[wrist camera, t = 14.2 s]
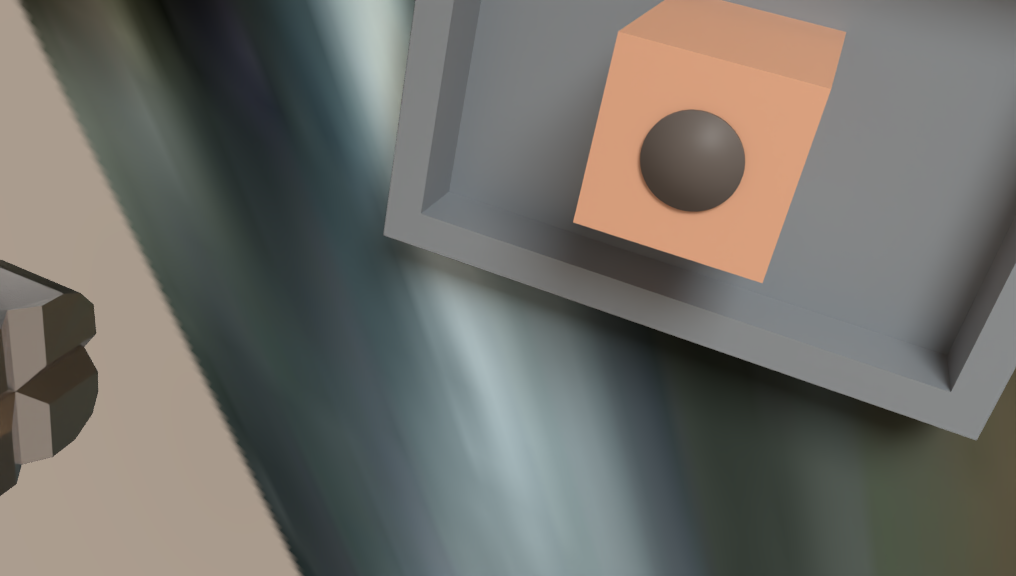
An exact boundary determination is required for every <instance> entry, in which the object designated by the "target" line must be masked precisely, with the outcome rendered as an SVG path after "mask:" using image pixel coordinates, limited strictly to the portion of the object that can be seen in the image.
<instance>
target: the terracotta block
mask: <svg viewBox="0 0 1016 576" xmlns="http://www.w3.org/2000/svg"><path fill="white" fill-rule="evenodd" d="M845 35H846V32H844V31H840V30H836V29H833V28H829V27H825V26H821V25H817V24H813V23H809V22H805V21H801V20H797V19H793V18H789V17H786V16H782V15H778V14H774V13H770V12H766V11H762V10H758V9H754V8H750V7H746V6H742V5H739V4H735V3H731V2H727V1H723V0H664V1H662V2H661V3H659V4H658V5H657V6H655V7H654V8H652V9H651V10H649V11H648V12H646V13H645V14H643V15H642V16H640V17H639V18H637V19H636V20H634V21H633V22H631V23H630V24H628V25H627V26H626V27H624V28H623V29H621V30H620V31H618V34H617V39H616V43H615V47H614V51H613V56H612V60H611V64H610V68H609V72H608V77H607V81H606V85H605V89H604V94H603V98H602V102H601V106H600V111H599V115H598V119H597V123H596V127H595V132H594V136H593V140H592V144H591V149H590V153H589V157H588V161H587V166H586V170H585V174H584V178H583V182H582V187H581V191H580V195H579V199H578V204H577V208H576V212H575V216H574V220H573V223H577V224H580V225H583V226H586V227H589V228H592V229H595V230H598V231H601V232H605V233H608V234H611V235H614V236H617V237H620V238H623V239H626V240H629V241H633V242H636V243H639V244H642V245H645V246H648V247H651V248H654V249H657V250H660V251H664V252H667V253H670V254H673V255H676V256H679V257H682V258H685V259H688V260H692V261H695V262H698V263H701V264H704V265H707V266H710V267H713V268H716V269H720V270H723V271H726V272H729V273H732V274H735V275H738V276H741V277H744V278H748V279H751V280H754V281H757V282H760V283H763V280H764V277H765V275H766V272H767V269H768V266H769V263H770V261H771V258H772V255H773V252H774V249H775V246H776V244H777V241H778V238H779V235H780V232H781V229H782V227H783V224H784V221H785V218H786V215H787V213H788V210H789V207H790V204H791V201H792V198H793V196H794V193H795V190H796V187H797V184H798V181H799V179H800V176H801V173H802V170H803V167H804V165H805V162H806V159H807V156H808V153H809V150H810V148H811V145H812V142H813V139H814V136H815V133H816V131H817V128H818V125H819V122H820V119H821V117H822V114H823V111H824V108H825V105H826V102H827V100H828V97H829V94H830V91H831V88H832V84H833V81H834V77H835V73H836V69H837V65H838V62H839V58H840V54H841V50H842V47H843V43H844V39H845Z"/></svg>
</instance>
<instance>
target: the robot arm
mask: <svg viewBox="0 0 1016 576" xmlns="http://www.w3.org/2000/svg"><path fill="white" fill-rule="evenodd" d="M95 334H96V327H95V316H94V305H93V304H92V303H91V302H90V301H89V300H88V299H87V298H85V297H84V296H83V295H82V294H81V293H79V292H76V291H74V290H72V289H69V288H67V287H65V286H62V285H60V284H58V283H55V282H53V281H50V280H48V279H46V278H43V277H41V276H38V275H36V274H34V273H31V272H29V271H27V270H24V269H22V268H19V267H17V266H15V265H13V264H10V263H7V262H5V261H3V260H0V496H1V495H2V494H3V493H5V492H6V491H8V490H9V489H10V488H12V487H13V486H14V485H16V484H17V480H18V476H19V472H20V469H21V465H22V464H26V463H30V462H33V461H38V460H42V459H46V458H50V457H53V456H54V455H56V454H57V453H58V452H59V451H61V450H62V449H63V448H65V447H66V446H67V445H68V444H70V443H71V442H72V441H74V440H75V439H76V437H77V436H78V434H79V433H80V431H81V430H82V428H83V427H84V425H85V424H86V422H87V421H88V419H89V418H90V416H91V415H92V413H93V409H94V405H95V402H96V398H97V394H98V371H97V369H96V367H95V366H94V364H93V362H92V360H91V358H90V357H89V355H88V353H87V351H86V349H85V348H84V346H85V345H86V344H87V343H88V342H89V341H90V340H91V339H92V338H93V337H94V335H95Z"/></svg>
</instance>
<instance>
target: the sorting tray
mask: <svg viewBox="0 0 1016 576" xmlns="http://www.w3.org/2000/svg"><path fill="white" fill-rule="evenodd" d="M662 1H664V0H415V7H414V14H413V21H412V29H411V36H410V43H409V51H408V58H407V66H406V73H405V80H404V88H403V95H402V102H401V110H400V117H399V124H398V132H397V139H396V146H395V154H394V161H393V169H392V176H391V183H390V191H389V198H388V205H387V213H386V220H385V227H384V236H387V237H390V238H393V239H396V240H399V241H402V242H405V243H407V244H410V245H413V246H416V247H419V248H422V249H425V250H428V251H431V252H433V253H436V254H439V255H442V256H445V257H448V258H451V259H454V260H457V261H459V262H462V263H465V264H468V265H471V266H474V267H477V268H480V269H483V270H486V271H488V272H491V273H494V274H497V275H500V276H503V277H506V278H509V279H512V280H514V281H517V282H520V283H523V284H526V285H529V286H532V287H535V288H538V289H540V290H543V291H546V292H549V293H552V294H555V295H558V296H561V297H564V298H566V299H569V300H572V301H575V302H578V303H581V304H584V305H587V306H590V307H592V308H595V309H598V310H601V311H604V312H607V313H610V314H613V315H616V316H618V317H621V318H624V319H627V320H630V321H633V322H636V323H639V324H642V325H644V326H647V327H650V328H653V329H656V330H659V331H662V332H665V333H668V334H670V335H673V336H676V337H679V338H682V339H685V340H688V341H691V342H694V343H697V344H699V345H702V346H705V347H708V348H711V349H714V350H717V351H720V352H723V353H725V354H728V355H731V356H734V357H737V358H740V359H743V360H746V361H749V362H751V363H754V364H757V365H760V366H763V367H766V368H769V369H772V370H775V371H777V372H780V373H783V374H786V375H789V376H792V377H795V378H798V379H801V380H803V381H806V382H809V383H812V384H815V385H818V386H821V387H824V388H827V389H829V390H832V391H835V392H838V393H841V394H844V395H847V396H850V397H853V398H855V399H858V400H861V401H864V402H867V403H870V404H873V405H876V406H879V407H881V408H884V409H887V410H890V411H893V412H896V413H899V414H902V415H905V416H907V417H910V418H913V419H916V420H919V421H922V422H925V423H928V424H931V425H934V426H936V427H939V428H942V429H945V430H948V431H951V432H954V433H957V434H960V435H962V436H965V437H968V438H971V439H974V440H977V439H978V437H979V435H980V433H981V431H982V429H983V427H984V426H985V424H986V422H987V420H988V418H989V416H990V414H991V412H992V411H993V409H994V407H995V405H996V403H997V401H998V399H999V397H1000V396H1001V394H1002V392H1003V390H1004V388H1005V386H1006V384H1007V382H1008V380H1009V379H1010V377H1011V375H1012V373H1013V371H1014V369H1015V367H1016V0H723V1H727V2H731V3H735V4H739V5H742V6H746V7H750V8H754V9H758V10H762V11H766V12H770V13H774V14H778V15H782V16H786V17H789V18H793V19H797V20H801V21H805V22H809V23H813V24H817V25H821V26H825V27H829V28H833V29H836V30H840V31H844V32H846V35H845V39H844V43H843V47H842V50H841V54H840V58H839V62H838V65H837V69H836V73H835V77H834V81H833V84H832V88H831V91H830V94H829V97H828V100H827V102H826V105H825V108H824V111H823V114H822V117H821V119H820V122H819V125H818V128H817V131H816V133H815V136H814V139H813V142H812V145H811V148H810V150H809V153H808V156H807V159H806V162H805V165H804V167H803V170H802V173H801V176H800V179H799V181H798V184H797V187H796V190H795V193H794V196H793V198H792V201H791V204H790V207H789V210H788V213H787V215H786V218H785V221H784V224H783V227H782V229H781V232H780V235H779V238H778V241H777V244H776V246H775V249H774V252H773V255H772V258H771V261H770V263H769V266H768V269H767V272H766V275H765V277H764V280H763V283H760V282H757V281H754V280H751V279H748V278H744V277H741V276H738V275H735V274H732V273H729V272H726V271H723V270H720V269H716V268H713V267H710V266H707V265H704V264H701V263H698V262H695V261H692V260H688V259H685V258H682V257H679V256H676V255H673V254H670V253H667V252H664V251H660V250H657V249H654V248H651V247H648V246H645V245H642V244H639V243H636V242H633V241H629V240H626V239H623V238H620V237H617V236H614V235H611V234H608V233H605V232H601V231H598V230H595V229H592V228H589V227H586V226H583V225H580V224H577V223H573V220H574V216H575V212H576V208H577V204H578V199H579V195H580V191H581V187H582V182H583V178H584V174H585V170H586V166H587V161H588V157H589V153H590V149H591V144H592V140H593V136H594V132H595V127H596V123H597V119H598V115H599V111H600V106H601V102H602V98H603V94H604V89H605V85H606V81H607V77H608V72H609V68H610V64H611V60H612V56H613V51H614V47H615V43H616V39H617V34H618V31H620V30H621V29H623V28H624V27H626V26H627V25H628V24H630V23H631V22H633V21H634V20H636V19H637V18H639V17H640V16H642V15H643V14H645V13H646V12H648V11H649V10H651V9H652V8H654V7H655V6H657V5H658V4H659V3H661V2H662Z"/></svg>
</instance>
